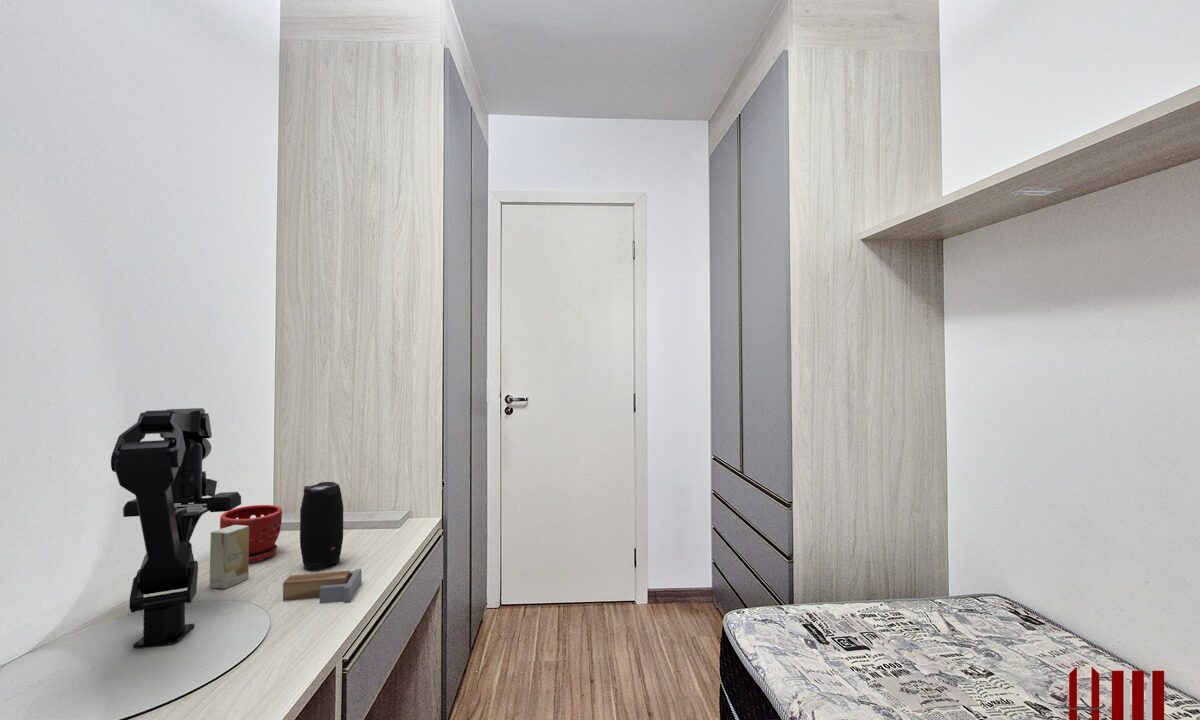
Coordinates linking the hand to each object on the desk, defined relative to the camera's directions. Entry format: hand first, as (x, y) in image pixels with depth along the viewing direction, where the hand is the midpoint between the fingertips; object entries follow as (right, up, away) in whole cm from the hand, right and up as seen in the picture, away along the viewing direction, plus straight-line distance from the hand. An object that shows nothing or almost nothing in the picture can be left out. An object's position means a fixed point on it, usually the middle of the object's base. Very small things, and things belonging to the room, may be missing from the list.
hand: (184, 545), depth 107 cm
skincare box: (+2, -12, +11) cm, 16 cm away
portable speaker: (+17, -12, +21) cm, 30 cm away
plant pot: (-3, -13, +26) cm, 29 cm away
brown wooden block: (+25, -12, +5) cm, 28 cm away
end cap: (+30, -12, +5) cm, 32 cm away
